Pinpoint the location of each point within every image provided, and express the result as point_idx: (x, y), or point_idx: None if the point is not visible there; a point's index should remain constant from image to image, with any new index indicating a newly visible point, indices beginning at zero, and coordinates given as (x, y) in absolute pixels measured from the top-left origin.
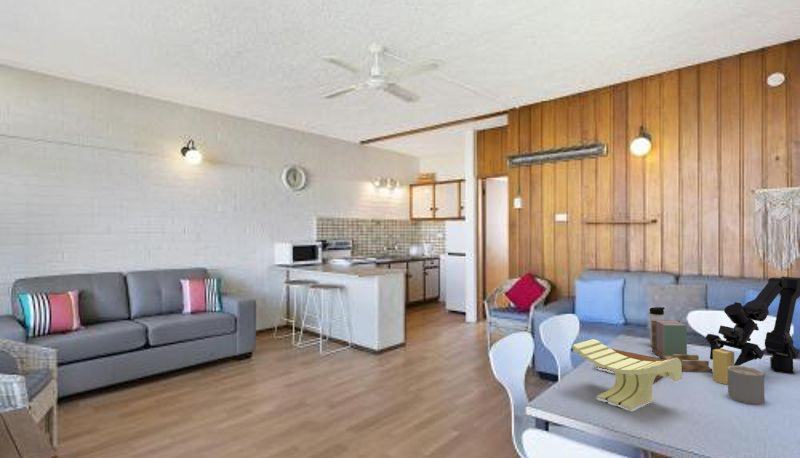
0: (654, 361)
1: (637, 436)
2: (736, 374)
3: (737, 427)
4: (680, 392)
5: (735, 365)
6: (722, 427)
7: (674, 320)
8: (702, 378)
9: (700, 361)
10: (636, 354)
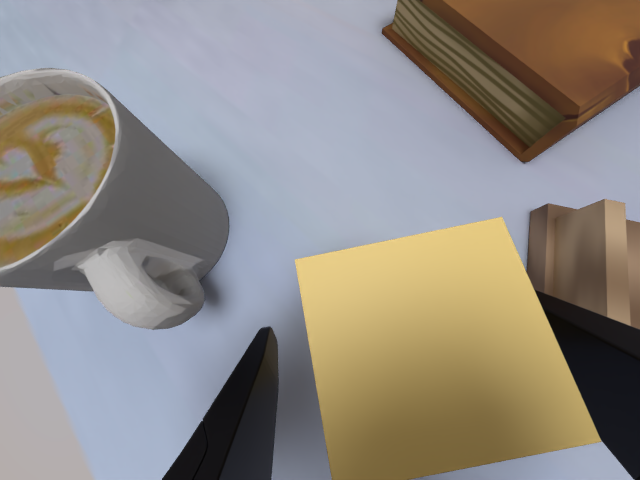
0: (548, 23)
1: None
2: (34, 86)
3: (48, 51)
4: (285, 62)
5: (262, 332)
6: (66, 23)
7: None
8: None
9: None
10: None
